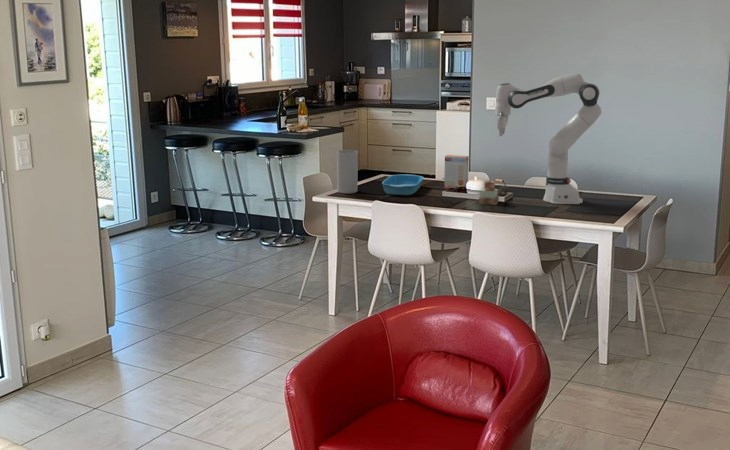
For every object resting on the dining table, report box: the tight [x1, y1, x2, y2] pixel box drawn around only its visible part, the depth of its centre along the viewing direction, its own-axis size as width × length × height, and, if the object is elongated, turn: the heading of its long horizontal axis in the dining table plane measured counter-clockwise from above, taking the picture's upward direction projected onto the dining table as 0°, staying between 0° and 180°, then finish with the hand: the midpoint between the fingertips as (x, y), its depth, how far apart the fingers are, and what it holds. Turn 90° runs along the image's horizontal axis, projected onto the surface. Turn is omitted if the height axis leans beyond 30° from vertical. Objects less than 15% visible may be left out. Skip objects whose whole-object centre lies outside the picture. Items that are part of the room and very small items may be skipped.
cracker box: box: [443, 154, 470, 190], centre depth 501 cm, size 14×6×21 cm, turn 65°
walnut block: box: [478, 195, 500, 206], centre depth 464 cm, size 10×10×4 cm
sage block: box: [479, 187, 499, 198], centre depth 464 cm, size 8×8×4 cm
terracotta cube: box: [484, 180, 496, 191], centre depth 462 cm, size 5×5×5 cm
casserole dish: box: [381, 173, 424, 196], centre depth 498 cm, size 37×22×7 cm, turn 165°
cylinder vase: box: [336, 149, 359, 195], centre depth 491 cm, size 12×12×25 cm
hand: (501, 135), depth 471 cm, fingers open, 8 cm apart
